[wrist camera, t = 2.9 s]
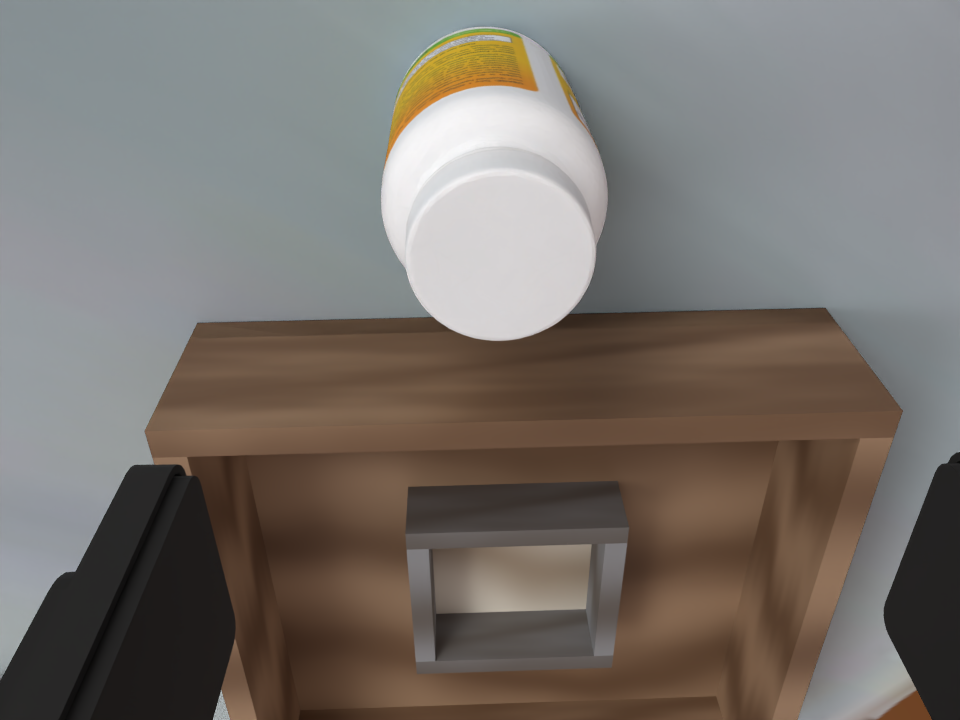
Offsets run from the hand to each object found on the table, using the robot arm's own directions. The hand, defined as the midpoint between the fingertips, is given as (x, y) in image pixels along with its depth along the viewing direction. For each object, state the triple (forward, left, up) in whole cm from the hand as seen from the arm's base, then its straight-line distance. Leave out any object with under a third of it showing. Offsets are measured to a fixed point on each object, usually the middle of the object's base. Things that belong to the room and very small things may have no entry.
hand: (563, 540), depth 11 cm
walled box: (+18, +1, -17) cm, 25 cm away
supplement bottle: (0, 0, -18) cm, 18 cm away
